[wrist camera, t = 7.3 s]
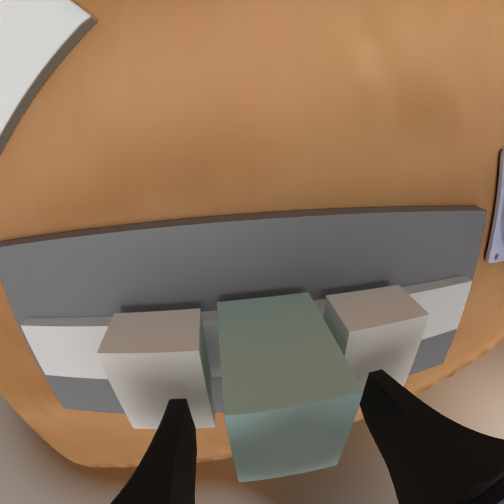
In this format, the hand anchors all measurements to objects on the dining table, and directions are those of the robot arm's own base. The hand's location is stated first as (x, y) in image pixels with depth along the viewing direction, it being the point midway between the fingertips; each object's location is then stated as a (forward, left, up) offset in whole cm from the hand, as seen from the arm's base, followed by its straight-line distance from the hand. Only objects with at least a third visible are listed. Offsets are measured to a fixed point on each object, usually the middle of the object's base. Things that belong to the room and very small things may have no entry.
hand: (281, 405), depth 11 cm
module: (0, 0, -4) cm, 4 cm away
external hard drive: (+14, -18, -6) cm, 23 cm away
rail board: (0, 0, -6) cm, 6 cm away
